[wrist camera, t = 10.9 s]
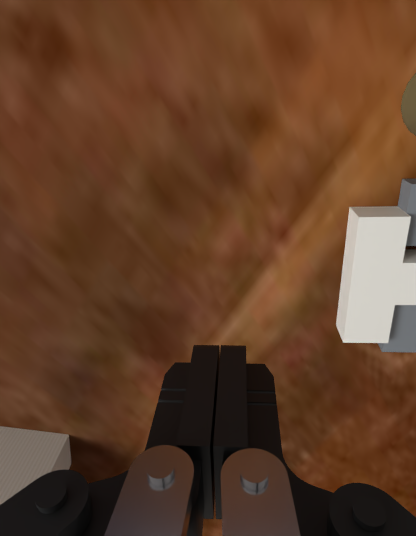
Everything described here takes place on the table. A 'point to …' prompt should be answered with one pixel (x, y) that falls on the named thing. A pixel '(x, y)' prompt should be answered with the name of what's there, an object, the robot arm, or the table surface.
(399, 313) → the t bay
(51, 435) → the beige open box
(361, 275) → the t block
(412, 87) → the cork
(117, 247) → the table surface
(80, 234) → the table surface
